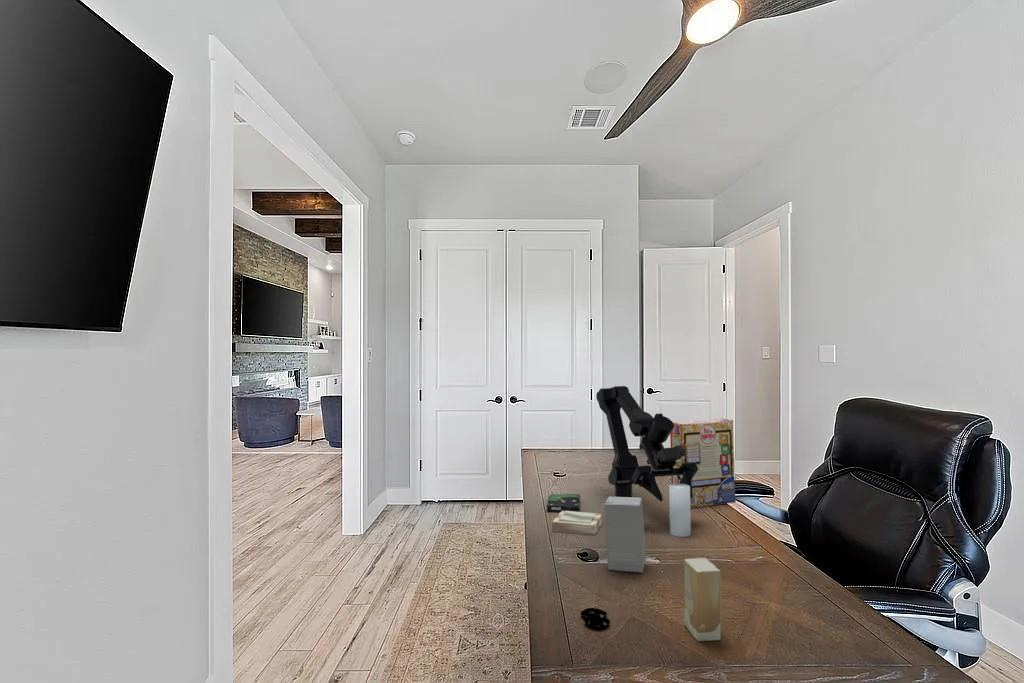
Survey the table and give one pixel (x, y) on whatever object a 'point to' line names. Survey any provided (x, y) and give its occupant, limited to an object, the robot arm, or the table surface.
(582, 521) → the square picture frame
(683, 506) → the ceramic canister
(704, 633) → the skincare box
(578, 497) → the disk drive
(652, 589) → the table surface
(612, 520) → the skincare box
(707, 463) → the board game box
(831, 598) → the table surface
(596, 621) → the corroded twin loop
